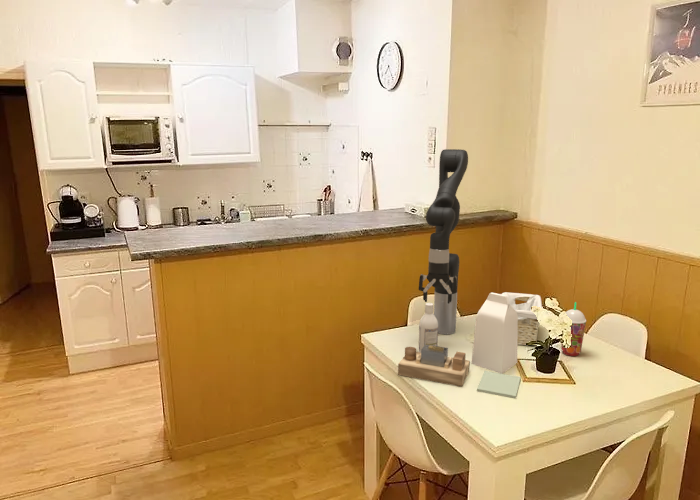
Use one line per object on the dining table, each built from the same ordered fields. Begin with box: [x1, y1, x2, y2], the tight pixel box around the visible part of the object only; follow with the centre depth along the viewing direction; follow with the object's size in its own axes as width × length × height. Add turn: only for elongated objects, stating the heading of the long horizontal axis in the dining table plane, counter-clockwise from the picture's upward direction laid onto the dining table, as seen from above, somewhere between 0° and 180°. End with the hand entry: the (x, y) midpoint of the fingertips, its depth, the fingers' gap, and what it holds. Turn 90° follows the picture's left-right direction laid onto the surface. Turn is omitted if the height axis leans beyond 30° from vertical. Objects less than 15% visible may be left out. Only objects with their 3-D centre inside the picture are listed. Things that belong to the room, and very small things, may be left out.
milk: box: [470, 292, 518, 374], centre depth 184 cm, size 12×12×26 cm
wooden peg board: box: [397, 346, 471, 387], centre depth 178 cm, size 12×22×8 cm, turn 66°
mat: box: [476, 370, 522, 399], centre depth 171 cm, size 14×12×1 cm
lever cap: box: [421, 344, 449, 367], centre depth 178 cm, size 5×8×6 cm, turn 66°
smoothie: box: [561, 301, 587, 357], centre depth 192 cm, size 8×8×20 cm
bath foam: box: [418, 302, 439, 353], centre depth 192 cm, size 7×7×20 cm
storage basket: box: [500, 291, 543, 346], centre depth 211 cm, size 24×16×15 cm
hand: (437, 302), depth 197 cm, fingers open, 8 cm apart
